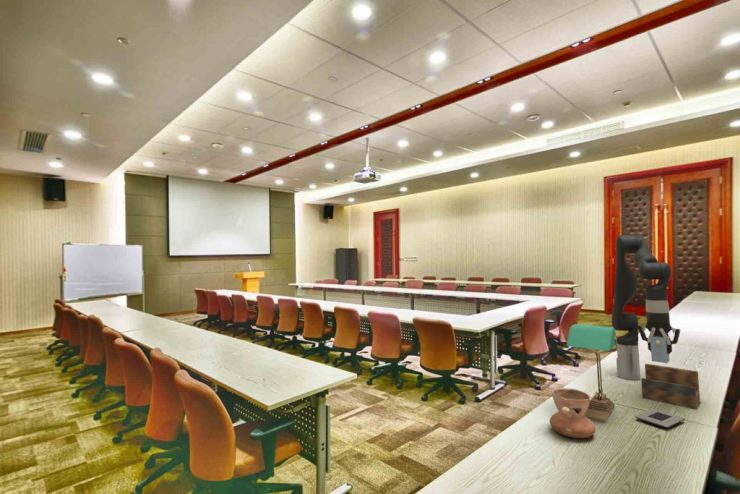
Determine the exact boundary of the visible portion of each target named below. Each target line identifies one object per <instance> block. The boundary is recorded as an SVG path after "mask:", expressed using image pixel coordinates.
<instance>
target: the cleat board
mask: <svg viewBox="0 0 740 494" xmlns="http://www.w3.org/2000/svg"><path fill="white" fill-rule="evenodd" d="M644 373H645V377H642V378H641V377H640V378H641V379H640V382H641V395H642V399H645V400H649V401H654V402H659V403H664V404H670V405H673V406H678V407H684V408H687V409H694V410H697V409H699V408H698V407H699V405H700V404H701V398H700V396H701V395H700V384H699V382H700V381H699V380H700V379H699V371H697V370H691V369H685V368H677V367H673V366H672V367H671V366H665V365H659V364H650V363H645V364H644Z"/></svg>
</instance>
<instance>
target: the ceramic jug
mask: <svg viewBox="0 0 740 494" xmlns="http://www.w3.org/2000/svg"><path fill="white" fill-rule="evenodd" d="M551 395H552V400H553V402H554V406H555V407H556V409H557V412H555V413H553V414H552V415H551V416H550V418H549V424H550V426H551V428H552V430H554V431H555V432H556V433H558V434H560V435H562V436H565V437H568V438H571V439H587V438H591V437H592V436H593V435H594V434H595V433H596V426H595V424H594V422H593V421H592V420H589V419H588V418H587V417H585V414H586V412H587V409H588V406H589V403H590V400H591V396H590V394H588V393H587V392H585V391H583V390H578V389H576V388H570V387H569V388H568V387H560V388H559V387H557V388H553V389H552V391H551Z"/></svg>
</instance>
